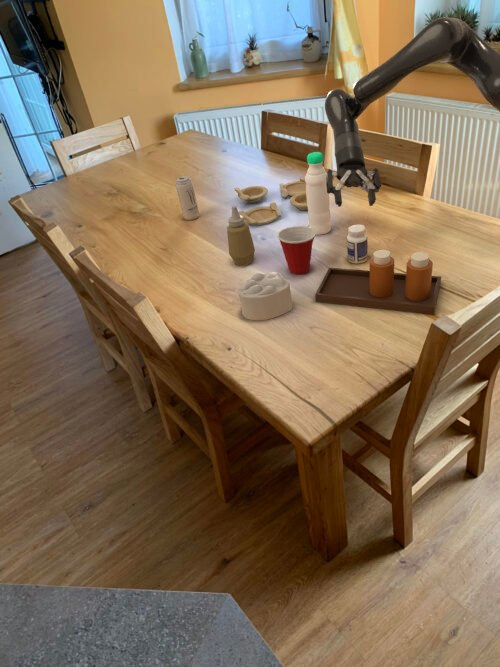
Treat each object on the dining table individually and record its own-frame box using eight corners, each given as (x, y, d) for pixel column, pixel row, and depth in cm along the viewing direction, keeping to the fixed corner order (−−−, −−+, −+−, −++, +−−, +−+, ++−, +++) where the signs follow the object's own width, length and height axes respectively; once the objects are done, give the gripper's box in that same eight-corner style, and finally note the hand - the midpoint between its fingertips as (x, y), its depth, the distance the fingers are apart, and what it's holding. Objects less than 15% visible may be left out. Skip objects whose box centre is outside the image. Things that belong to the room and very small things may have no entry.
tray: (440, 283, 129) (441, 276, 127) (433, 314, 119) (434, 307, 118) (329, 274, 140) (329, 267, 139) (315, 301, 131) (315, 294, 129)
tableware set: (243, 231, 170) (241, 220, 167) (226, 200, 193) (224, 190, 190) (339, 206, 173) (339, 195, 171) (311, 179, 196) (311, 169, 194)
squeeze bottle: (248, 269, 149) (239, 214, 138) (226, 266, 153) (214, 211, 142) (261, 256, 154) (252, 201, 143) (239, 253, 158) (229, 199, 147)
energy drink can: (194, 221, 182) (184, 182, 172) (181, 220, 184) (171, 181, 175) (203, 214, 185) (194, 175, 176) (190, 213, 188) (180, 174, 179)
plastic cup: (326, 266, 144) (324, 228, 137) (302, 283, 139) (298, 245, 131) (297, 256, 151) (294, 220, 143) (274, 272, 145) (268, 236, 138)
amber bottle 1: (395, 285, 130) (396, 248, 123) (391, 298, 126) (392, 260, 119) (372, 283, 132) (372, 246, 125) (367, 296, 128) (367, 259, 121)
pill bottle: (368, 253, 146) (367, 223, 140) (367, 264, 141) (367, 232, 135) (348, 254, 147) (347, 223, 141) (346, 264, 143) (345, 233, 137)
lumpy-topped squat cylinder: (296, 309, 129) (293, 281, 124) (250, 326, 127) (245, 298, 121) (279, 291, 137) (276, 264, 132) (236, 306, 135) (231, 279, 129)
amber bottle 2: (431, 288, 126) (434, 250, 120) (428, 302, 122) (431, 263, 115) (407, 286, 129) (409, 249, 122) (403, 299, 125) (405, 261, 118)
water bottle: (314, 224, 165) (308, 149, 150) (334, 226, 162) (330, 150, 147) (305, 234, 161) (298, 158, 146) (326, 236, 158) (321, 158, 142)
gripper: (325, 145, 133) (332, 197, 128) (378, 144, 133) (386, 195, 128) (321, 163, 140) (327, 213, 135) (370, 162, 141) (378, 211, 135)
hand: (356, 204), depth 132 cm, fingers open, 8 cm apart
